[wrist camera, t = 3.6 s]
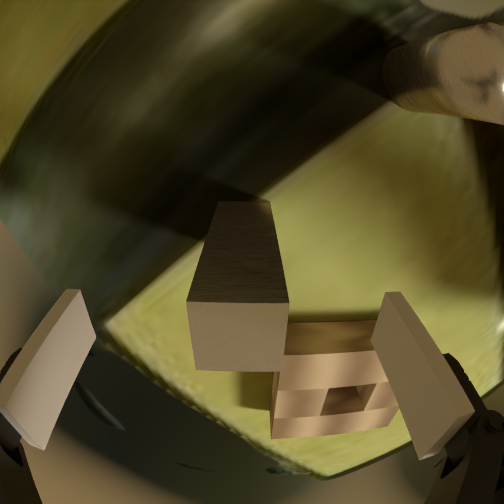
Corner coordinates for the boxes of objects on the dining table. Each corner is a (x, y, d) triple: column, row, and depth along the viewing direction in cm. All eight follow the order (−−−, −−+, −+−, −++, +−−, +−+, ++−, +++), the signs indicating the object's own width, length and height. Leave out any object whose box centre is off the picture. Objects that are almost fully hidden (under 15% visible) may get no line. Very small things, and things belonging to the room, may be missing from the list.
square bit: (269, 201, 21) (289, 303, 10) (268, 248, 23) (281, 371, 12) (218, 201, 21) (186, 301, 10) (220, 247, 23) (195, 369, 12)
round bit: (439, 56, 16) (532, 47, 7) (438, 118, 18) (533, 137, 9) (381, 38, 16) (464, 5, 7) (380, 105, 18) (469, 110, 9)
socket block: (417, 316, 26) (434, 342, 22) (379, 401, 32) (387, 426, 29) (278, 323, 26) (281, 355, 22) (269, 411, 32) (271, 438, 29)
